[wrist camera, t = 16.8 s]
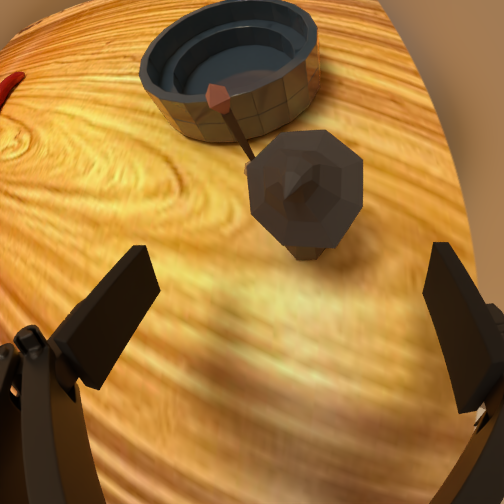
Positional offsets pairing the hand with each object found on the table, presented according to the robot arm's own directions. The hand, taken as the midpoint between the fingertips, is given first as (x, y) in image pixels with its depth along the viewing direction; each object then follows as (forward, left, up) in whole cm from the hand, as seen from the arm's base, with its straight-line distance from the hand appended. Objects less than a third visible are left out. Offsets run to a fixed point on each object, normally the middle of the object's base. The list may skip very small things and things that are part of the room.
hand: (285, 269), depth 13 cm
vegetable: (+66, -9, -8) cm, 67 cm away
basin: (+13, -16, -8) cm, 22 cm away
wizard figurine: (+2, -4, -8) cm, 9 cm away
